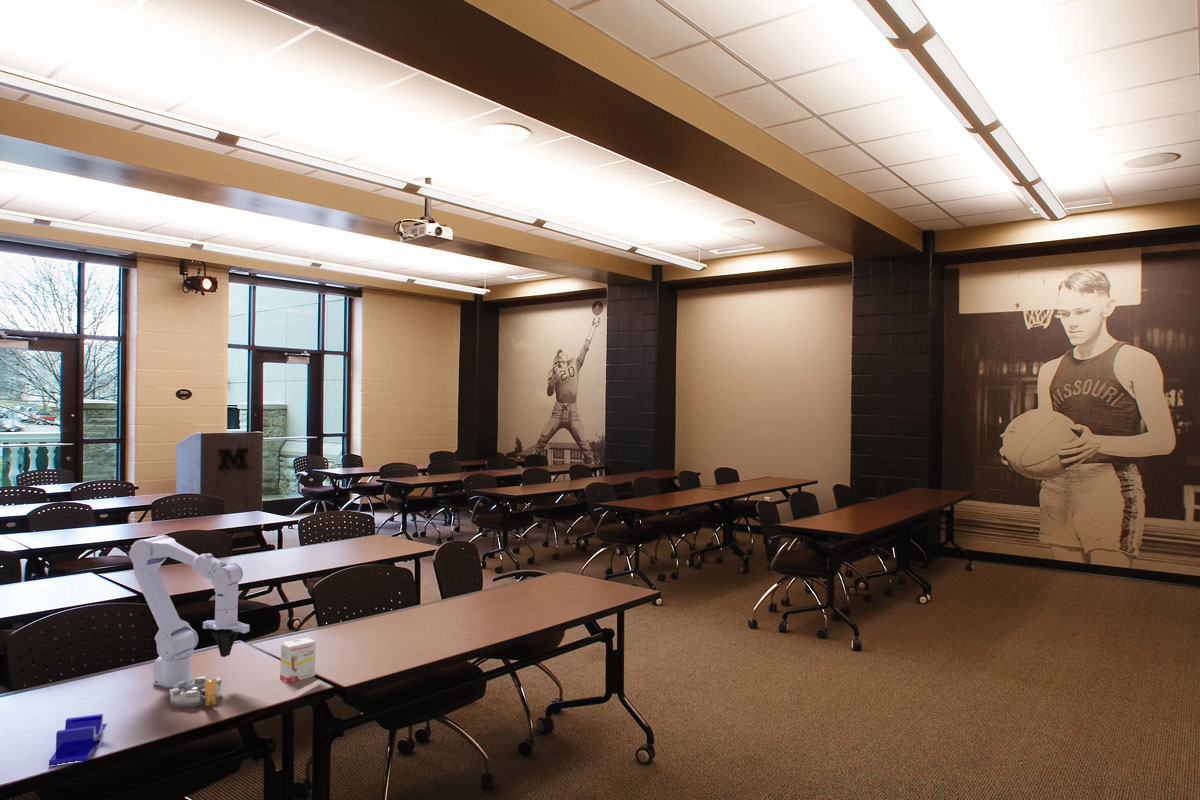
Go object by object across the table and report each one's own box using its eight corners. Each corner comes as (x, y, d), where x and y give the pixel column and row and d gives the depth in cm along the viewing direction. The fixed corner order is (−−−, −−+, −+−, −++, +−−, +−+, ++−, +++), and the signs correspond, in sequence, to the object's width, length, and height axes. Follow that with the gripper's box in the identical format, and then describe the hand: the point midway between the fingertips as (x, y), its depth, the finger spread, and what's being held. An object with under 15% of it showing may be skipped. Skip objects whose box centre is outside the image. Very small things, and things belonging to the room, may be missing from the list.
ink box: (286, 688, 206) (287, 646, 207) (279, 683, 210) (280, 643, 210) (315, 680, 213) (316, 640, 213) (307, 676, 216) (308, 636, 216)
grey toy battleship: (163, 699, 194) (163, 671, 194) (211, 687, 203) (211, 660, 203) (186, 718, 182) (187, 688, 182) (236, 704, 191) (237, 675, 192)
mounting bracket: (87, 763, 162) (88, 736, 162) (48, 768, 159) (49, 741, 159) (107, 730, 178) (107, 706, 179) (72, 735, 176) (73, 710, 176)
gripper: (194, 609, 203) (193, 657, 202) (236, 613, 199) (235, 662, 198) (214, 603, 209) (213, 649, 209) (255, 607, 205) (254, 654, 205)
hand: (225, 655), depth 204 cm, fingers closed
